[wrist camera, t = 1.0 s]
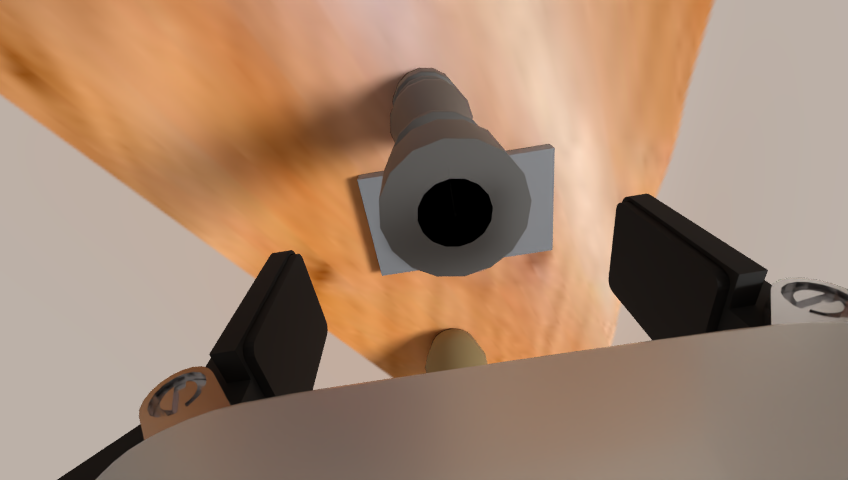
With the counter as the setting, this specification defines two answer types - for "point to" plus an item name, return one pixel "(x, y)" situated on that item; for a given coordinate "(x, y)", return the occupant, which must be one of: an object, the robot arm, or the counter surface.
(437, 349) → the squeeze bottle
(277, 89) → the counter surface
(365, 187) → the socket board
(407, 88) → the candle holder
